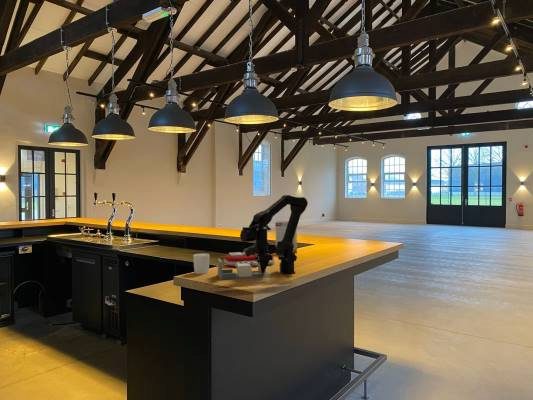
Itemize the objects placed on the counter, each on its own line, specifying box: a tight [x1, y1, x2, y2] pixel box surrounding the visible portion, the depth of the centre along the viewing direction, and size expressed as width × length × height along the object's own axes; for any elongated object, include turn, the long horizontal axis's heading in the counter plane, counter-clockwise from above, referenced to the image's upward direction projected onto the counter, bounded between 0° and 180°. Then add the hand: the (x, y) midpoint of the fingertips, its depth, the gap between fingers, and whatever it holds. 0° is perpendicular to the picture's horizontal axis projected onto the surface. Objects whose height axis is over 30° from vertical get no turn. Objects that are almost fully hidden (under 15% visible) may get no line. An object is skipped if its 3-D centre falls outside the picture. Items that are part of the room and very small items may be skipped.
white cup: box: [192, 253, 210, 275], centre depth 198 cm, size 8×8×10 cm
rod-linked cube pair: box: [236, 263, 267, 277], centre depth 189 cm, size 13×6×6 cm, turn 103°
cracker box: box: [274, 220, 298, 254], centre depth 266 cm, size 14×6×21 cm, turn 84°
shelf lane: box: [217, 258, 273, 281], centre depth 188 cm, size 24×14×9 cm, turn 104°
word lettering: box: [223, 251, 275, 269], centre depth 224 cm, size 27×7×30 cm
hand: (262, 272), depth 191 cm, fingers closed on rod-linked cube pair, 3 cm apart
